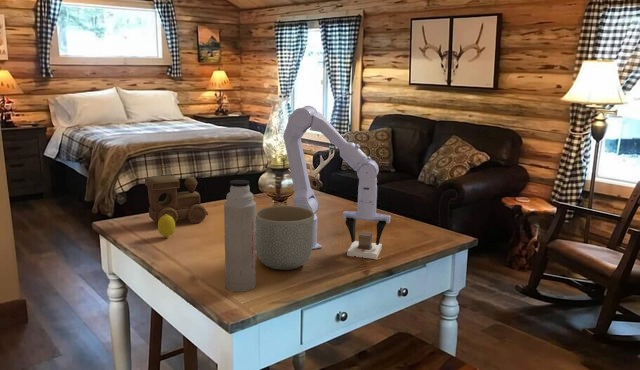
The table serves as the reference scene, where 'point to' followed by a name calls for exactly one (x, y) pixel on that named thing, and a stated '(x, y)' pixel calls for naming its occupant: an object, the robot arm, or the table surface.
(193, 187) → the wooden toy train
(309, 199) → the robot arm
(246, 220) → the thermos bottle
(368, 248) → the post
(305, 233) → the planter
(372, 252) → the sleeve block
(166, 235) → the lemon
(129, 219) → the table surface
